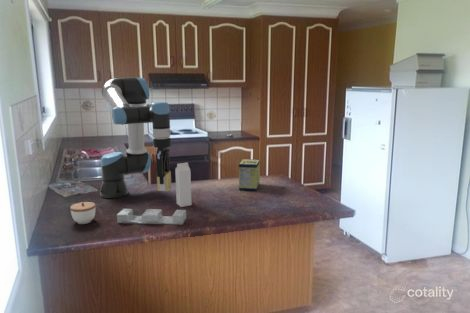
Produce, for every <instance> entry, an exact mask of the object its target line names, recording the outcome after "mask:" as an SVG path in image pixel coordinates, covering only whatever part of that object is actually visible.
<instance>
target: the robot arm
mask: <svg viewBox="0 0 470 313" xmlns="http://www.w3.org/2000/svg"><path fill="white" fill-rule="evenodd" d="M101 96H102V98H103V99H104V100H105V102H107V103H109V106H110V107H111V109H112V110H111V119H112V121H113V123H114V125H121V126H123V125H124V126H125V125H127V132H128V134H127V135H128V140H127V141H128V148H127V149H126V150H125V153H126V154H124V153H123V152H121V151H117V152H116V151H114V152H110V153H107V154H104V155H102V156H101V158H100V166H101V180H102V183H101V186H100V190H99V195H100V196H99V197H101V198H103V199H116V198H117V199H119V198H121V197H125V196H127V195H128V194H129V188H128V185H127V184H126V181H125V176H129V175H136V174H138V175H139V174H144V173H148V172H149V171H150V168H151V165H152V158H151V153H150V152H148V149H147V148H146V147H145V124H149V123H151V124H152V137H153V139H152V140H153V141H152V142H153V147H154V148H157V151H156V153H155V162H156V163H155V164H156V178H157V177H159V190H160V191H159V192H167V191H166V182H165V175H164V171H171V166H170V149H169V148H171V146H172V140H171V133H172V130H171V121H170V120H171V118H170V117H171V116H170V115H171V114H170V110H171V109H170V104H169V103H168V102H167V101H165V102H164V101H159V102H158V101H157V102H152V103H151V105H147V106H146V105H145V104H147V100H149V98H150V88H149V85H148V82H147V80H146V79H145V78H144V77H136V76H135V77H114V78H111V79H108V80H107V81H106V82H105V83H104V84H103V85H102V87H101Z"/></svg>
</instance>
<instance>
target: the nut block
mask: <svg viewBox="0 0 470 313" xmlns="http://www.w3.org/2000/svg"><path fill="white" fill-rule="evenodd" d="M171 174H172V172H171V170H169V171H164V175H165V182H166V191H165V192H169V191H170V190H171V189H172V175H171ZM156 183H157V184H156V186H157V189H156V190H157V192H161V191H160V190H159V177H157V176H156Z"/></svg>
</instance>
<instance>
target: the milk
mask: <svg viewBox="0 0 470 313" xmlns="http://www.w3.org/2000/svg"><path fill="white" fill-rule="evenodd" d="M174 170H175V172H174V173H175V195H176V205H178V206H179V207H180V208H183V207H188V206H192V204H193V203H192V180H191V177H192V174H191V168H190V166H189V162H183V163H182V162H181V163H177V164H176V167H175V168H174Z"/></svg>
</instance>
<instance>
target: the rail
mask: <svg viewBox="0 0 470 313" xmlns="http://www.w3.org/2000/svg"><path fill="white" fill-rule="evenodd" d="M116 219H117V224H143V225H144V224H145V225H184V223H185V221H186V219H187V209H175V211H174V213H173V214H172V215H171V216H170V215H169V216H167V215H165V216H164V215H163V209H162V208H159V209H158V208H157V209H155V208H154V209H153V208H149V209H148V208H147V209H146V210H145V211H144V212H143V213H142V214H141V215H134V210H133V208H122V209H121V210H120V211H119V212H118V213H117V214H116Z"/></svg>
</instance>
